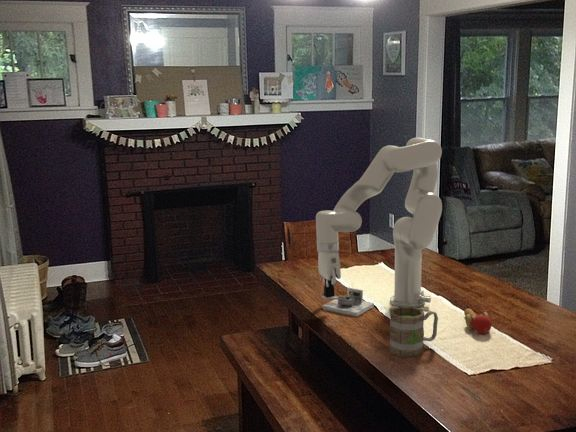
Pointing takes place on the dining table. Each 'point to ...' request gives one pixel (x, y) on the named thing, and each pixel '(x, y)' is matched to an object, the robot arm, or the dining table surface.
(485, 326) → the kendama
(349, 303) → the crank
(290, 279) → the dining table surface
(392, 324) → the mug
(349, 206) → the robot arm
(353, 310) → the stand
